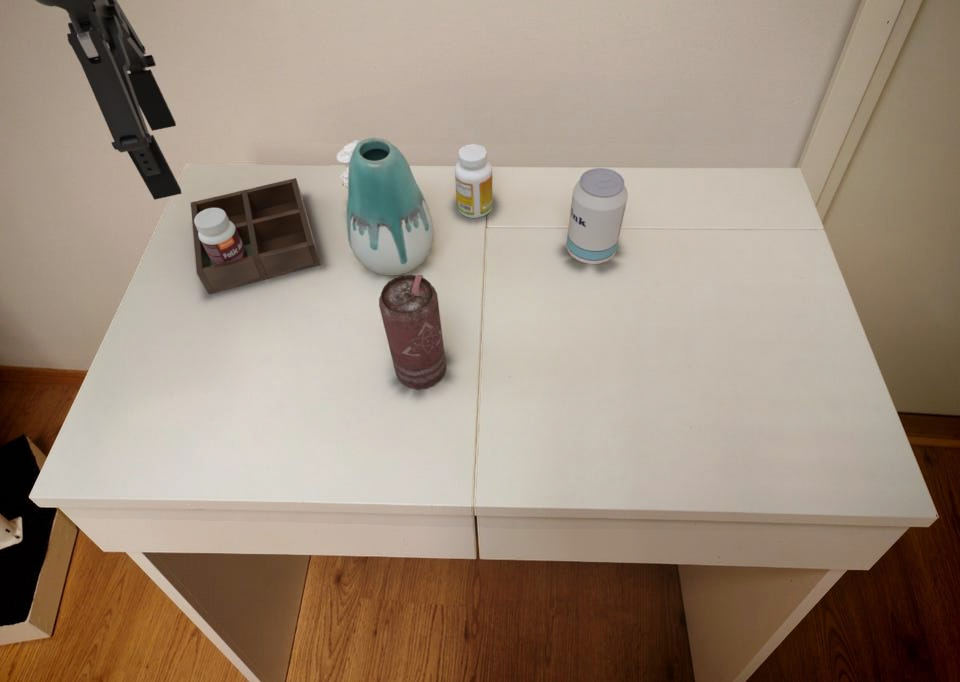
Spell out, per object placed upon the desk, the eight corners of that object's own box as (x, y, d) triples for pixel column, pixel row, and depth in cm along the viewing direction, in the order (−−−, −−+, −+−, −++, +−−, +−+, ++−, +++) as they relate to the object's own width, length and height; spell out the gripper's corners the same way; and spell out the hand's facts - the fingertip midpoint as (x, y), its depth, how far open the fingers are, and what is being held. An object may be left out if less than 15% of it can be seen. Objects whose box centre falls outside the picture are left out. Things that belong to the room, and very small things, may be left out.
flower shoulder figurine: (373, 227, 88) (357, 158, 78) (346, 228, 88) (328, 159, 78) (378, 189, 93) (364, 120, 84) (353, 189, 93) (337, 121, 84)
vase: (451, 266, 83) (441, 156, 68) (375, 299, 79) (348, 190, 65) (413, 218, 89) (397, 109, 74) (342, 247, 85) (310, 138, 71)
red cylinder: (452, 353, 73) (444, 274, 62) (438, 395, 70) (427, 320, 59) (405, 345, 74) (389, 265, 63) (389, 386, 71) (369, 310, 59)
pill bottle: (237, 279, 81) (214, 233, 74) (208, 271, 82) (182, 225, 76) (257, 256, 84) (235, 209, 77) (228, 248, 85) (205, 202, 78)
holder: (208, 294, 81) (196, 273, 77) (201, 223, 90) (190, 202, 86) (320, 264, 83) (313, 243, 80) (303, 198, 92) (295, 177, 89)
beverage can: (559, 240, 85) (566, 170, 76) (604, 230, 86) (617, 160, 76) (575, 273, 81) (585, 204, 71) (623, 263, 82) (639, 193, 72)
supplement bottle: (490, 193, 92) (489, 138, 84) (495, 216, 89) (494, 161, 81) (455, 197, 91) (451, 142, 84) (459, 220, 88) (455, 165, 81)
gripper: (96, -9, 43) (208, 219, 60) (106, -109, 58) (193, 96, 74) (-18, 9, 42) (130, 237, 58) (21, -99, 56) (130, 109, 73)
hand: (165, 159), depth 66 cm, fingers open, 13 cm apart
